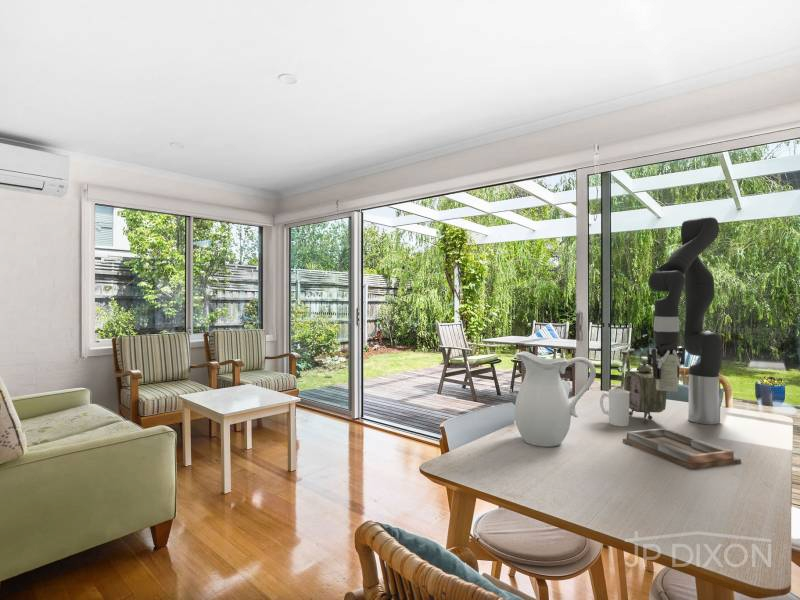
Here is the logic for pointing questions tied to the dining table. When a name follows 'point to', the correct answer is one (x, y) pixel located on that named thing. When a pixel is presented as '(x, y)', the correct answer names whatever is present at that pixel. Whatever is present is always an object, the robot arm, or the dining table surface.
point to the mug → (617, 407)
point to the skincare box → (668, 374)
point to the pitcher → (546, 399)
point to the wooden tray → (681, 448)
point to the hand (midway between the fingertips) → (666, 378)
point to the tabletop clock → (644, 391)
